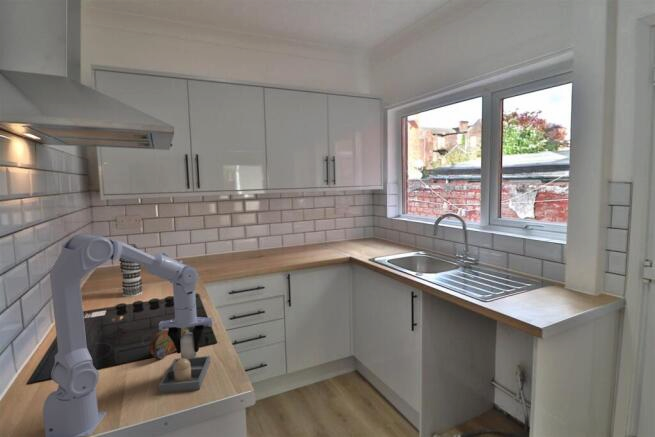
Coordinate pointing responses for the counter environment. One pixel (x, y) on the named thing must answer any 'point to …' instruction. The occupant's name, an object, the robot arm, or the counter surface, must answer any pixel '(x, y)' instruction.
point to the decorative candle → (131, 277)
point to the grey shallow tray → (197, 374)
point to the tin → (164, 343)
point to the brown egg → (182, 370)
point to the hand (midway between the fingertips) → (188, 351)
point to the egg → (187, 346)
